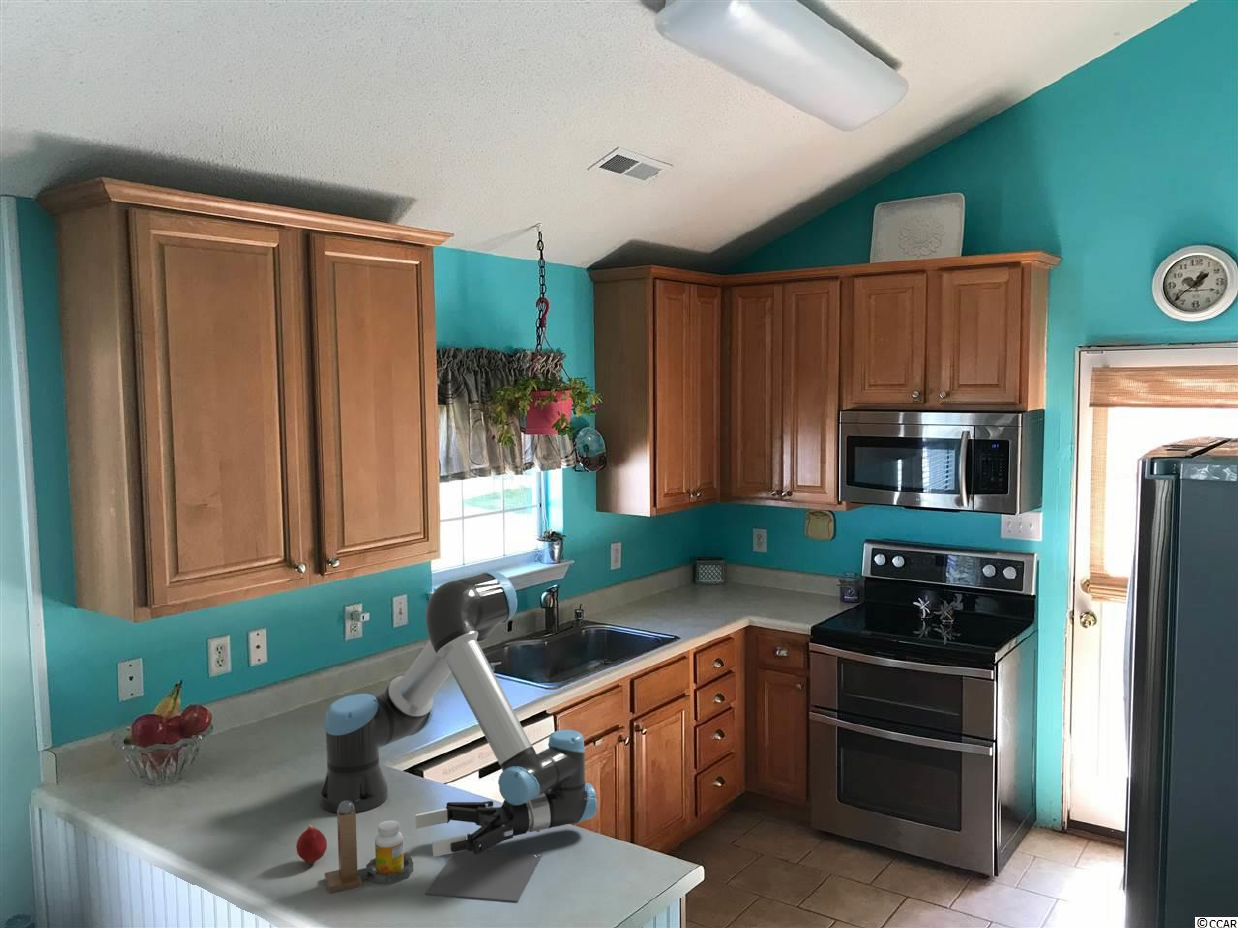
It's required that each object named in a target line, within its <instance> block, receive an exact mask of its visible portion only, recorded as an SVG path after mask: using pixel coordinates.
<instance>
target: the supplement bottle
mask: <svg viewBox="0 0 1238 928" xmlns="http://www.w3.org/2000/svg"><path fill="white" fill-rule="evenodd" d="M377 827H378V828H377V829H378V834H377V835H376V836H375V840H374V844H375V845H374V846H375V847H374V848H375V849H374V851H375V853H374V855H375V858H376V868H375V872H377V873H384V874H388V873H394V872H398V871H400V870H402V869H404V868H405V865H404V836H403V834H402V833H401V832H400V823H399V822H398V821H397V820H393V819H392V820H384V821H382V822H380V823H379V824H378V825H377Z"/></svg>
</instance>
